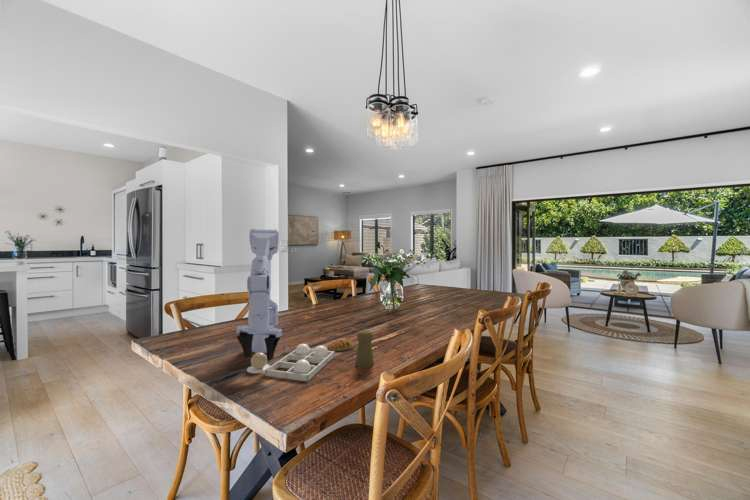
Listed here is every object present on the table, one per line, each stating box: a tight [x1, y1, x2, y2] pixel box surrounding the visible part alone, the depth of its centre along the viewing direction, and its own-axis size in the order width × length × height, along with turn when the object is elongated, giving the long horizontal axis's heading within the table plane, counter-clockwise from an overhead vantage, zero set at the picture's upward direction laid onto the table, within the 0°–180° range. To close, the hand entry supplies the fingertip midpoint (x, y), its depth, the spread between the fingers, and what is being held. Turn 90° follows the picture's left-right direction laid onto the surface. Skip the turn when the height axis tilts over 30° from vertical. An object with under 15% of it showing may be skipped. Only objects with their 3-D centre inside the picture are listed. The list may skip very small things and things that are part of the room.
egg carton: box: [264, 348, 336, 382], centre depth 101 cm, size 14×20×2 cm
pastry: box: [327, 337, 355, 352], centre depth 119 cm, size 9×7×4 cm
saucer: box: [246, 363, 271, 374], centre depth 98 cm, size 7×7×1 cm
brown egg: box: [250, 352, 268, 369], centre depth 98 cm, size 5×5×5 cm
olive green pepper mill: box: [355, 329, 375, 368], centre depth 104 cm, size 6×6×11 cm
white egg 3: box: [313, 345, 328, 358], centre depth 107 cm, size 5×5×5 cm
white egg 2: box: [294, 359, 311, 374], centre depth 94 cm, size 5×5×5 cm
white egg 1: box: [295, 343, 311, 356], centre depth 108 cm, size 5×5×5 cm
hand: (259, 358), depth 98 cm, fingers open, 7 cm apart
